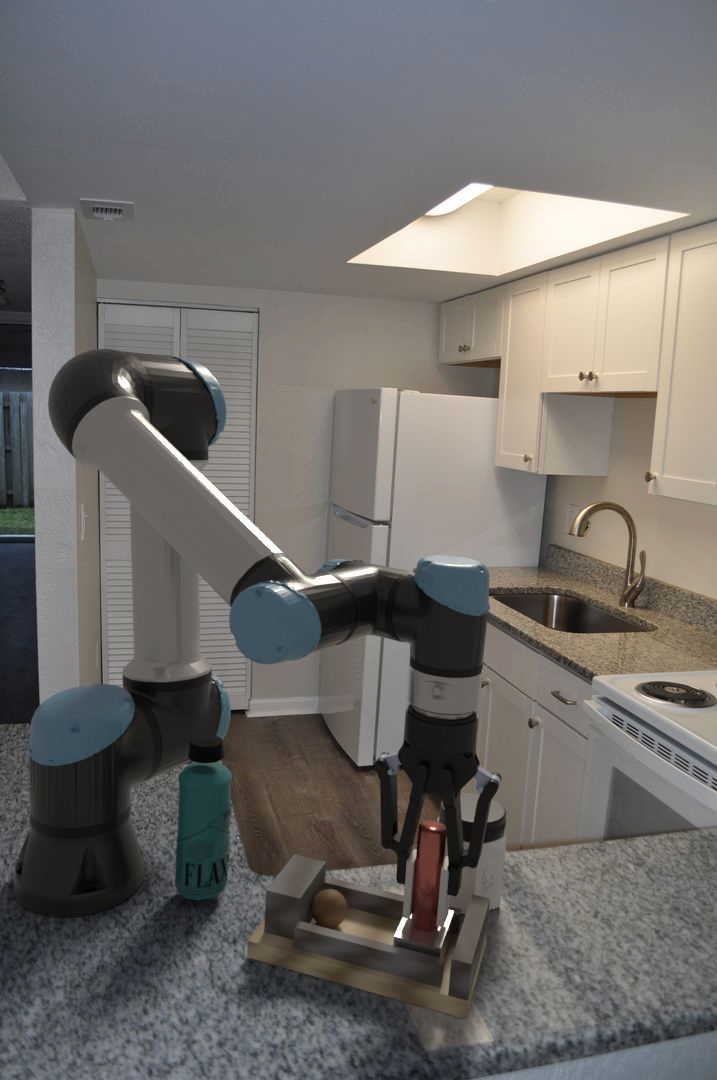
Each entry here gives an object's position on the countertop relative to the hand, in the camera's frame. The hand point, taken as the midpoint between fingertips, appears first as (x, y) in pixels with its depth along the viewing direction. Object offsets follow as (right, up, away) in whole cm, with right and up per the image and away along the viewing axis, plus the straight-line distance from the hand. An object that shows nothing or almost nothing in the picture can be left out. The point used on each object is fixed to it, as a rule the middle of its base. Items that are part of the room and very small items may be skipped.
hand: (425, 914), depth 87 cm
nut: (-10, -3, +4) cm, 11 cm away
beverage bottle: (-26, -3, +11) cm, 29 cm away
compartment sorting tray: (-6, -5, +3) cm, 9 cm away
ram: (0, -4, +1) cm, 4 cm away
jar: (+6, -5, +14) cm, 16 cm away
